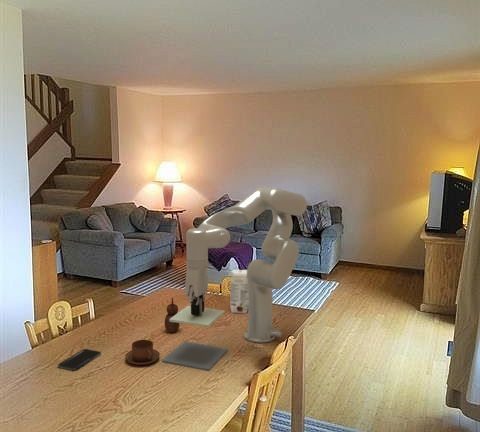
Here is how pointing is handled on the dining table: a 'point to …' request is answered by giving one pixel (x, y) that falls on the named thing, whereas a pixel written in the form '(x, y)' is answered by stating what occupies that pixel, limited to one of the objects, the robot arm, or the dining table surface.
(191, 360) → the rubber mat
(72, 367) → the phone
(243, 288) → the juice carton
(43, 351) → the dining table surface
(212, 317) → the cover board
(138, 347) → the cup and saucer
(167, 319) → the wooden figurine
